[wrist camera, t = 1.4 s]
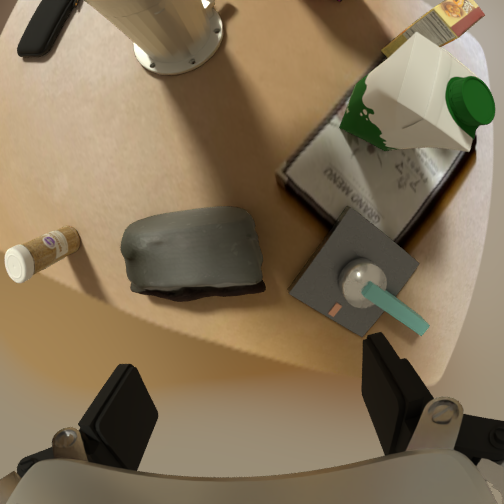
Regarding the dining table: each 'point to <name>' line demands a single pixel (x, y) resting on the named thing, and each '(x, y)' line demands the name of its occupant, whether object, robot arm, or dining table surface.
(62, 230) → the sprinkles bottle
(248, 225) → the rock
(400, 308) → the teal pivot lever
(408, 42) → the milk carton
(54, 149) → the dining table surface
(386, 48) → the candy box
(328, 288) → the base
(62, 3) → the carrying case or bag
